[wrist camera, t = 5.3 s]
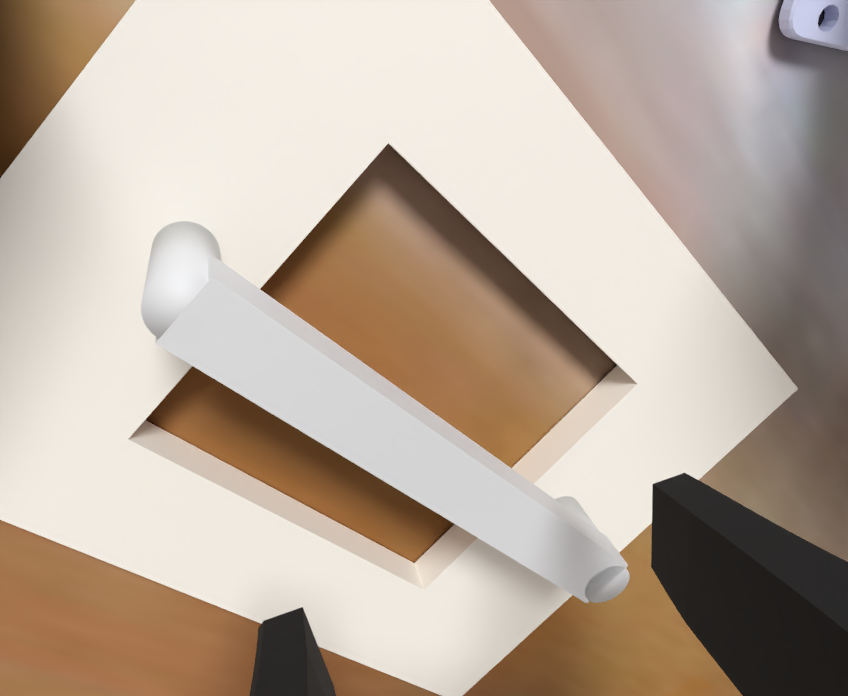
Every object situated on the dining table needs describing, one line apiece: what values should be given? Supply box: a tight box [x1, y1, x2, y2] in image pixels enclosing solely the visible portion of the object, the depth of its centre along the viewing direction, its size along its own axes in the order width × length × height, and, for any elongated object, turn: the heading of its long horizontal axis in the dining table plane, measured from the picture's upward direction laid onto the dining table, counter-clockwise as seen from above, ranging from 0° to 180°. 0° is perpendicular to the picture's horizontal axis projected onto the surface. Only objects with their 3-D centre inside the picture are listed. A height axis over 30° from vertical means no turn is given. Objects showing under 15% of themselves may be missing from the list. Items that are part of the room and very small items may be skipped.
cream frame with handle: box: [0, 0, 798, 696], centre depth 15 cm, size 18×14×4 cm
